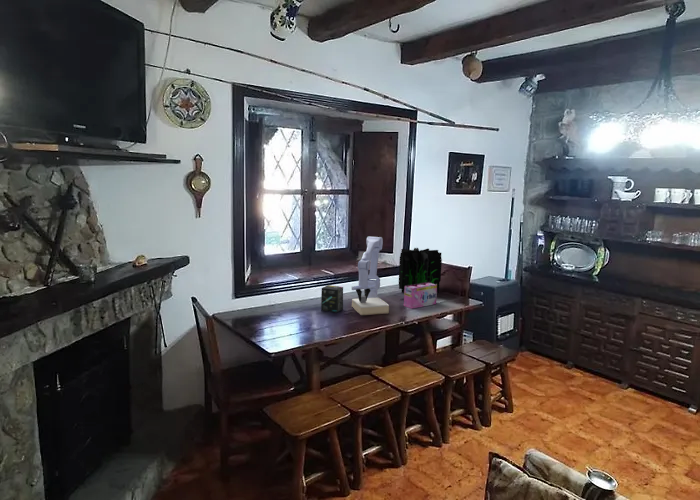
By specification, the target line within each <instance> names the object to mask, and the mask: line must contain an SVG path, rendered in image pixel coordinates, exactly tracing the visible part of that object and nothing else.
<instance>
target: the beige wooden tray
mask: <svg viewBox="0 0 700 500" xmlns="http://www.w3.org/2000/svg"><path fill="white" fill-rule="evenodd" d="M352 307H353V308H354V309H353V308H352ZM351 308H352V309H353V310H355V312H357V313H358V314H359V315H360V316H371V315H382V314H383V315H384V314H385V315H386V314H389V313H390V312H389V311H390V305H389V306H384V307H369V308H361V307H360V306H358V305H357V304H356V303H355V302H354V301H353V300H352V299H351Z"/></svg>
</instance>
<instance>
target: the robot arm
mask: <svg viewBox="0 0 700 500" xmlns="http://www.w3.org/2000/svg"><path fill="white" fill-rule="evenodd" d="M383 241H384V240H383V237H382V236H379V237H378V236H370V235H369V236H367V237H366V251H364V252H363V254H362V256H361V259H360V260H358V263H357V269H358V285H355V286H351V291H356V293H357V297H358V298H357V299H359V301H361V296H362V295H363V294H362V293H363V291H362V290H364V295H365V296H366V301H367V298H376V297H378V291H379V290H380V289H381V288H380V287H381V278H380V277H379V276H378V275H377V273H378V272H377V271H378V264H379V254H380V251H383V250H382V249H383V243H384V242H383Z"/></svg>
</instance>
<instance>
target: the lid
mask: <svg viewBox="0 0 700 500" xmlns="http://www.w3.org/2000/svg"><path fill="white" fill-rule="evenodd" d="M352 300H353V301H354V302H355V303H356V304H357V305H358V306H360V307H361V308H369V307H384V306H389V307H390V305H389V304H388V303H387V302H386V301H384V300H383V299H381V298H380V297H379V296H377V297H376V298H367V301H366V296H365V294H364V295H363V294H361V301H359V298H352V299H351V301H352Z"/></svg>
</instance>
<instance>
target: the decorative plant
mask: <svg viewBox="0 0 700 500" xmlns="http://www.w3.org/2000/svg"><path fill="white" fill-rule="evenodd" d="M400 251H401V252H400V255H399V264H398V265H399V267H398V289H399V290H401V293H403V294H404V289H405V286H408V285H414V284H420V283H426V282H431V283H432V284H435V285H436V284H437V294H439V293H440V282H441V280H442V279H441V278H442V265H443V264H442V263H443V259H442V252H439V249H430V248H425V249H419V247H414V248H413V249H407V248H401V249H400Z"/></svg>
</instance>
